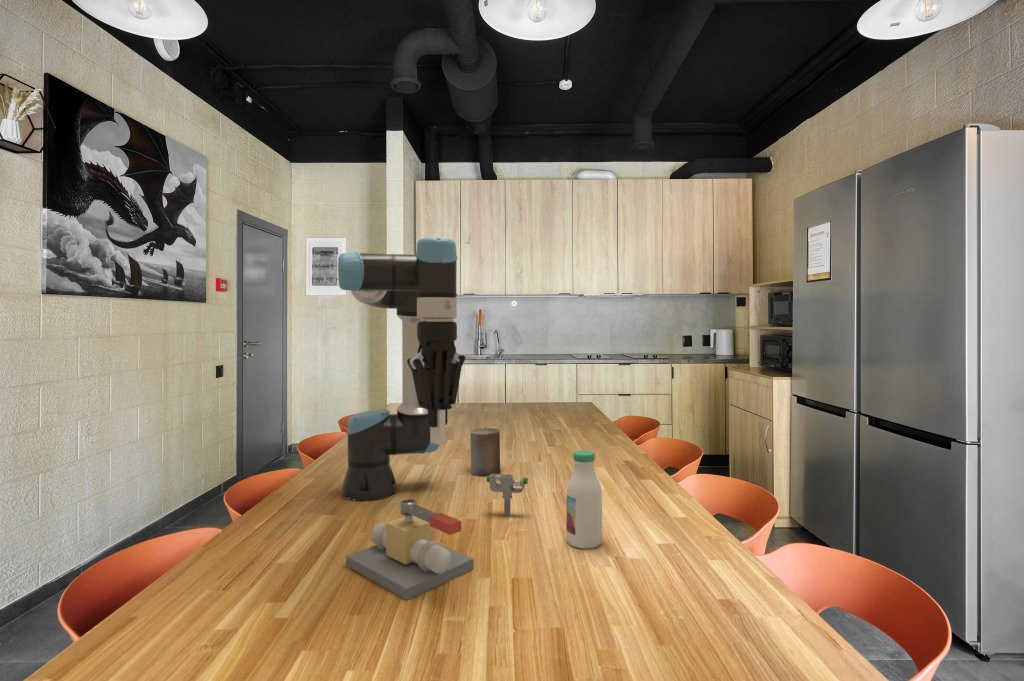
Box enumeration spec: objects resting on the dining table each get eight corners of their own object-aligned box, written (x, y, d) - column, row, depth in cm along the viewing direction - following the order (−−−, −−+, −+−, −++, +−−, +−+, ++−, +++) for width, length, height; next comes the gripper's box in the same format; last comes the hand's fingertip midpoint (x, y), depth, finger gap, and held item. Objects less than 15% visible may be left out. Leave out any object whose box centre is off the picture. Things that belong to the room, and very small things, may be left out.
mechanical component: (526, 518, 131) (526, 478, 130) (486, 515, 133) (485, 476, 132) (528, 514, 134) (528, 475, 133) (489, 511, 136) (488, 473, 135)
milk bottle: (604, 537, 119) (604, 449, 118) (598, 551, 111) (598, 457, 111) (570, 533, 121) (570, 447, 121) (562, 547, 114) (562, 454, 113)
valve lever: (397, 512, 104) (397, 502, 104) (411, 508, 107) (411, 498, 107) (448, 536, 92) (448, 524, 92) (462, 531, 95) (462, 520, 95)
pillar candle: (506, 470, 174) (505, 425, 174) (489, 478, 166) (488, 430, 165) (482, 467, 179) (481, 423, 179) (464, 473, 171) (463, 427, 171)
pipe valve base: (346, 565, 105) (345, 512, 105) (411, 541, 117) (410, 493, 117) (406, 600, 92) (406, 539, 92) (473, 568, 104) (473, 514, 104)
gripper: (423, 320, 93) (424, 452, 94) (475, 320, 103) (475, 439, 104) (397, 320, 98) (398, 446, 99) (448, 320, 108) (449, 434, 109)
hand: (437, 442), depth 102 cm, fingers closed
